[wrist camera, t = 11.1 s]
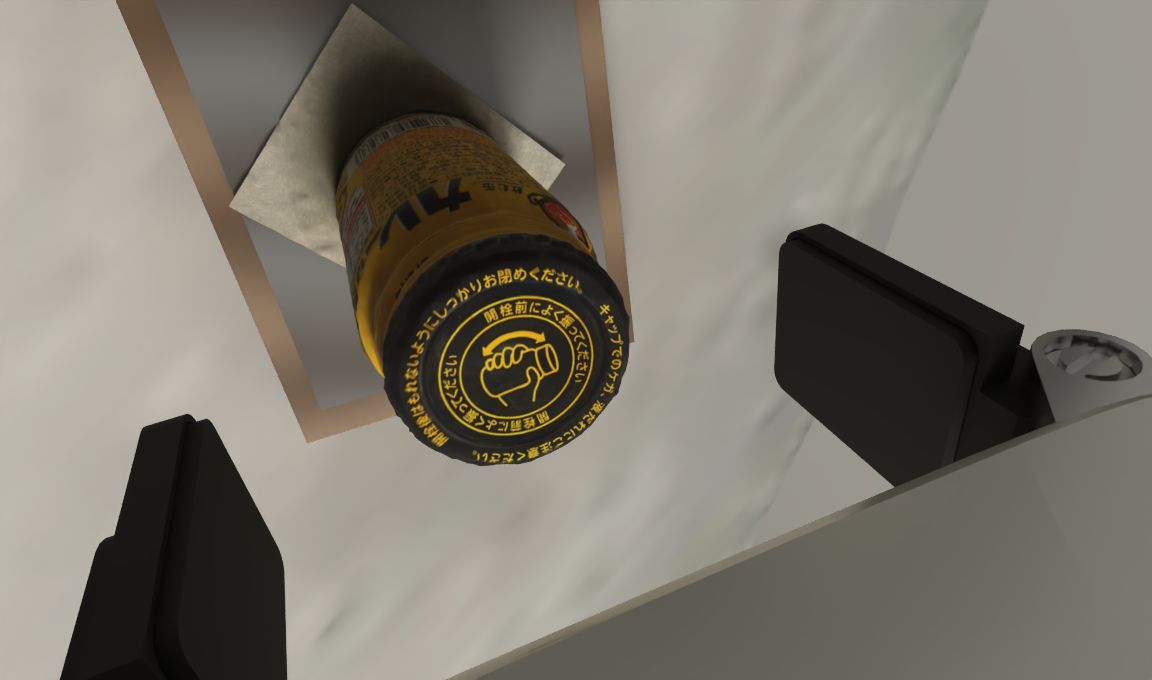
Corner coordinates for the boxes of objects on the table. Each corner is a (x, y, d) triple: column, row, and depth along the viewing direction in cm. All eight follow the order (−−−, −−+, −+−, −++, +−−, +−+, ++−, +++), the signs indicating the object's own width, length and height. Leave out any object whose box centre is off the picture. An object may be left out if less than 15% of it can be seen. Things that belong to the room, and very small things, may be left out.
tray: (100, -90, 20) (68, -99, 17) (551, -149, 23) (586, -165, 20) (306, 402, 29) (307, 449, 27) (608, 312, 33) (638, 346, 30)
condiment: (451, 322, 26) (546, 539, 16) (228, 204, 22) (173, 406, 12) (563, 162, 25) (742, 293, 15) (350, 2, 20) (403, 37, 10)
